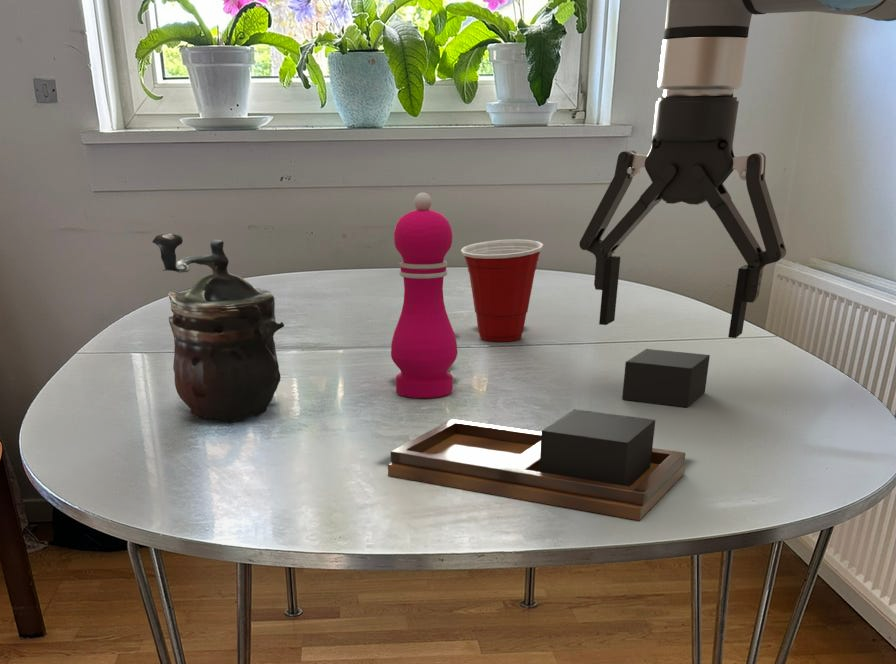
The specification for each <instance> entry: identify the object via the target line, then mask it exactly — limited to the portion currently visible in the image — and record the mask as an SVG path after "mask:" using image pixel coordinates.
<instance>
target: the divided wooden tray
mask: <svg viewBox="0 0 896 664" xmlns="http://www.w3.org/2000/svg"><path fill="white" fill-rule="evenodd" d="M541 435H542V431H538V430H537V431H536V430H529V429H523V428H515V427H509V426H502V425H495V424H488V423H482V422H481V423H480V422H474V421H467V420H460V419H454V418H453V419H452V418H451V419H449V420H447V421H445V422H443V423H441V424H439V425H438V426H435V427H434V428H432V429H430V430H428V431H427V432H425V433H422V434H421V435H419V436H417V437H415V438H413V439H411V440H409V441H408V442H406V443H404V444H402V445H400V446H398V447H396V448H395V449H393V450H391V451H390V463H388V464H387V476H389V477H392V478H393V477H394V478H400V479H405V480H410V481H416V482H421V483H427V484H432V485H439V486H445V487H450V488H454V489H455V488H456V489H460V490H468V491H472V492H478V493H484V494H489V495H495V496H500V497H504V498H505V497H506V498H512V499H517V500H523V501H528V502H533V503H539V504H544V505H550V506H556V507H560V508H567V509H573V510H577V511H584V512H589V513H595V514H600V515H607V516H613V517H616V518H617V517H618V518H623V519H629V520H634V521H641V519H643V518H644V516H645V515H646V514H648V512H650V510H651V509H652V508H653V507H655V505H656V504H657V503H658V502H659V501H660V500H661V499H662V498H663V496H665V494H666V493H667V492H669V490H670V489H671V488H672V487H673V486H675V484H677V482H678V481H679V480H680V479H681V478H682V477H683V476H684V475H685V473H686V464H687V463H686V462H685V460H686V452H684V451H676V450H670V449H662V448H655V447H652V456H651V465H650V468H649V469H648V470H647V471H645V472H644V473H643V474H642V475H641V476H640V477H639V478H638V479H637V480H636V481H635V482H634V483H633V484H632V485H631V486H630V487H629V486H623V485H617V484H610V483H604V482H598V481H592V480H586V479H580V478H574V477H568V476H562V475H555V474H549V473H543V472H540V454H541Z"/></svg>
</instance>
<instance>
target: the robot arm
mask: <svg viewBox="0 0 896 664" xmlns="http://www.w3.org/2000/svg"><path fill="white" fill-rule="evenodd" d="M666 3H667V4H666V14H665V25H664V31H663V38H662V45H661V54H660V62H659V71H658V79H657V89H659V91H663V93H662V97H658V99H657V101H656V102H655V108H654V119H653V128H652V137H651V147H650V150H649V152H648V154H644V153H637V152H636V151H635V150H624V151H621V152H620V153H618V156H617V159H616V165H615V170H614V176H613V178H612V179H611V181H610V183H609V186H608V187H607V189H606V191H605V192H604V195H603V196H602V199H601V200H600V203H599V204H598V206H597V208H596V210H595V212H594V214H593V216H592V218H591V220H590V221H589V223H588V225H587V227H586V229H585V231H584V233H583V234H582V236H581V239H580V240H579V248H580V249H581V250H582V251H587V252H589V253H591V254H592V255H594V257H595V268H594V282H593V286H594V289H595V290H597V291H601V298H600V299H601V300H600V308H599V309H600V311H599V321H598V324H599V325H600V326H601V325H602V326H607V325H609V324H611V323H613V322H615V318H616V308H617V306H616V305H617V299H618V288H619V287H618V286H619V277H620V266H621V256H617V255H614V254H615V253H616V252H615V251H616V250H617V249H618V248H619V247H620V246H621V244H622V243H624V242H625V240H626V239H627V237H629V236H630V234H631V233H632V232H633V231H634V230H635V229H636V228H637V227H638V226H639V224H640V223H642V221H643V220H644V219H645V217H647V216H648V214H650V212H651V211H652V210H653V209H654V208H655V207H656V206H657V205H658V204H659V203H660V202H661V201H663V202H665V204H670V205H671V204H673V205H674V204H677V203H685V204H689V205H698V206H699V205H701V204H704V203H707V204H708V206H709V207H710V208H711V210H713V211H714V213H715V214H716V215H717V218H718V219H719V221H720V222H721V224H722V225H723V227H724V229H725V231H726V232H727V234H728V235H729V237H730V238H731V240H732V241H733V243H734V245H735V246H736V248H737V250H738V251H739V253H740V255H741V257H742V258H743V259H744V262H745V263H747V264H745V265H742V266H741V267H739V268H738V271H737V277H736V284H735V290H734V297H733V304H732V310H731V316H730V322H729V323H730V324H729V329H728V336H727V338H731V339H737V338H738V337H739V336H741V335H742V334H743V329H744V324H745V317H746V311H747V306H748V305H747V304H748V303H750V304H751V303H752V304H753V303H754V302H756V301H757V299H758V298H759V296H760V291H761V285H762V279H763V273H764V269H765V267H766V266H767V265H770V264H773V263H777V262H779V261H780V260H782V259H784V258H785V257H786V255H787V248H786V245H785V242H784V238H783V235H782V232H781V229H780V226H779V222H778V219H777V215H776V212H775V209H774V205H773V202H772V198H771V195H770V192H769V188H768V184H767V180H766V179H765V178H766V165H767V163H766V161H767V159H766V155H765V154H764V153H763V152H755V153H752V154H750V155H741V156H735V154H734V139H735V131H736V126H737V125H736V124H737V119H738V110H739V103H740V101H739V100H738V97H737V96H734V91H735V90H738V89H739V88H741V86H742V82H743V74H744V67H745V61H746V55H747V54H746V53H747V46H748V38H749V31H750V27H751V26H750V25H751V22H752V17H753V15H755V16H757V15H766V14H782V13H784V14H785V13H801V12H804V13H805V12H816V13H825V14H833V15H843V16H855V17H860V18H867V19H870V20H873V21H877V22H881V21H883V22H895V21H896V0H667V2H666ZM643 168H644V169H645V171H646V173H647V175H648V177H649V179H650V182H651V183H650V185H649V186H648V187H647V188H646V189H645V190H644V191H643V193H642V194H641V195H640V196H639V199H638V200H637V201H636V202H635V203H634V204H633V206H632V207H631V208H630V209H629V210H628V211H627V212H626V214H625V215H624V216H623V217H622V218H620V219H621V220H619V222H618V223H617V224H616V225H615V226H614V227H613V229H612V230H611V231H610V232H609V233H608V234H607V235H606V236H605V237H604V238H603V240H602V237H603V235H605V232H606V230H607V228H608V226H609V225H610V222H611V221H612V219H613V217H614V215H615V213H616V211H617V209H618V208H619V206H620V204H621V202H622V200H623V199H624V196H625V195H626V193H627V191H628V190H629V188H630V185H631V184H632V181H633V178H635V177H637V176H639V174H640V173H641V171H642V169H643ZM734 170H735V171H737V172H738V176H739V179H740V180H742V181H745V183H746V184H745V185H746V190H747V193H748V196H749V201H750V203H751V206H752V209H753V213H754V216H755V219H756V223H757V227H758V229H759V231H760V232H759V233H760V236H761V239H762V243H763V246H764V249H765V250H763V249H762V247H761V245H760V244H759V242H758V241H757V239H756V238H755V236H754V234H753V233H752V231H751V229H750V227H749V226H748V225H747V223H746V222H745V220H744V218H743V217H742V215H741V213H740V211H739V209H737V207H736V205H735V204H734V202H733V200H732V197H731V194H730V193H729V191H728V189H727V188H726V187H725V185H724V183H725V181H726V180H727V179H728V178H729V177H730V176H731V174H732V173H733V172H734Z"/></svg>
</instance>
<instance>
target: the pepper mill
mask: <svg viewBox="0 0 896 664" xmlns="http://www.w3.org/2000/svg"><path fill="white" fill-rule="evenodd" d="M432 203H433V200H432V198H431V196H430V194H429V193H426V192H419V193H418V194H416V196H415V197H414V201H413V205H414V207H415V209H414V210H411V211H409V212H407V213H405V214H403V215H402V216H401V217H400V218H399V219H398V221H397V223H396V225H395V228H394V232H393V242H394V244H393V245H394V247H395V249H396V250H397V252H398V253H399V254H400V256H401V258H402V260H401V261H399V267H400V271H399V276H401V278H402V277H403V289H404V291H403V303H402V308H401V312H400V315H399V318H398V321H397V324H396V326H395V328H394V332H393V335H392V339H391V343H390V344H391V345H390V347H391V348H390V357H391V360H392V362H393V363H394V365H395V366H396V367H397V369H399V371H400V372H399V373H397V374H396V376H395V391H396V393H397V394H398V395H400V396H402V397H404V398H411V399H437V398H441V397H446V396H448V395H450V394H451V393H452V392H453V387H454V386H453V383H454V381H453V378H454V377H453V374H452V373H451V372H450V373H449V372H447V371H448V369H449V368H450V369H451V366H452V365H453V364H454V362H455V361H456V360H457V357H458V343H457V338H456V334H455V331H454V328H453V326H452V324H451V321H450V319H449V316H448V313H447V310H446V305H445V299H444V289H443V288H444V277H445V276H447V275H448V271H447V266H448V265H449V264H448V262H447V260H445V256H446V255H447V254H448V252H449V251H450V249H451V247H452V244H453V230H452V226H451V223H450V222H449V220H448V219H447V218H446V216H444V215H443V214H442V213H440V212H438V211H436V210H433V209H431V207H432Z"/></svg>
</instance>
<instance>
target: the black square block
mask: <svg viewBox="0 0 896 664" xmlns="http://www.w3.org/2000/svg"><path fill="white" fill-rule="evenodd" d="M655 429H656V419H654V418H653V419H652V418H646V417H637V416H631V415H623V414H622V415H621V414H615V413H614V414H613V413H607V412H598V411H592V410H591V411H590V410H582V409H575V408H574V409H572V410H571V411H570V412H568V413H567V414H565V415H564V416H561V417H560V418H559V419H557V420H555V421H554V422H552V423H551V424H550V425H548V426H546V427H545V428H544V429H542V430H541V432H542V435H541V454H540V472H543V473H549V474H555V475H562V476H568V477H574V478H580V479H586V480H592V481H598V482H604V483H610V484H617V485H623V486H629V487H630V486H631V485H632V484H633V483H634V482H635V481H636V480H637V479H638V478H639V477H640V476H641V475H642V474H643V473H644V472H645V471H647V470H648V469H649V468H650V465H651V456H652V448H654V447H653V445H654V437H655Z"/></svg>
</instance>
